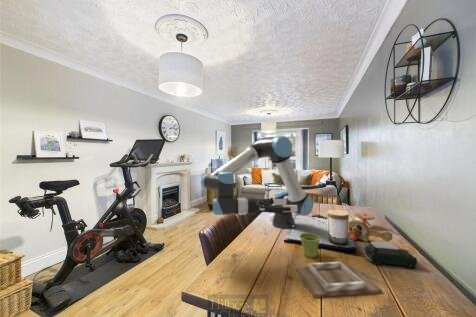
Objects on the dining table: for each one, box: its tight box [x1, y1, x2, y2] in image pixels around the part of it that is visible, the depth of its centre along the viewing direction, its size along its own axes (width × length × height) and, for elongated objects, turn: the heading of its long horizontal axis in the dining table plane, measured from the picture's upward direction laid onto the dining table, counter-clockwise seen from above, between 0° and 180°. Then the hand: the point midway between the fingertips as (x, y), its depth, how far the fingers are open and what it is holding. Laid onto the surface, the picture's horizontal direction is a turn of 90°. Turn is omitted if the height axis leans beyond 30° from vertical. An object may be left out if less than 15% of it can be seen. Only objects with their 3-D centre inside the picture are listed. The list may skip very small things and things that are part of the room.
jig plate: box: [295, 261, 383, 299], centre depth 74 cm, size 24×16×3 cm, turn 95°
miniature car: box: [363, 241, 418, 270], centre depth 86 cm, size 9×18×8 cm, turn 75°
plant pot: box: [299, 232, 321, 259], centre depth 94 cm, size 9×9×9 cm
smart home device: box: [311, 214, 328, 219], centre depth 143 cm, size 8×2×20 cm
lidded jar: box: [354, 212, 375, 229], centre depth 128 cm, size 11×11×9 cm
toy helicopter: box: [347, 213, 393, 243], centre depth 106 cm, size 8×21×14 cm, turn 39°
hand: (291, 204), depth 93 cm, fingers open, 13 cm apart
